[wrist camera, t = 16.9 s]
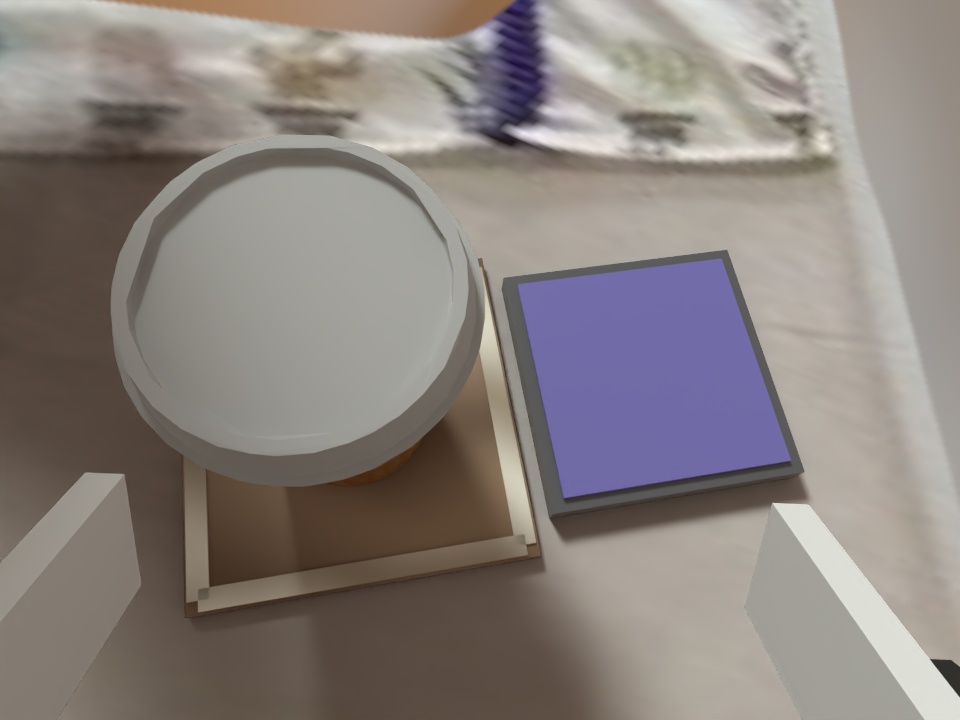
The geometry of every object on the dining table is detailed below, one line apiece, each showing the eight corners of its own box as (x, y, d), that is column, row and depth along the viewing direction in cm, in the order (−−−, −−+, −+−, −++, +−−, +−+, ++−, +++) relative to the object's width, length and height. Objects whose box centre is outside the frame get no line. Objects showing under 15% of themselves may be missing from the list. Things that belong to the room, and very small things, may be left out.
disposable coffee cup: (340, 260, 30) (282, 58, 19) (515, 391, 29) (564, 257, 18) (180, 427, 28) (0, 308, 16) (363, 582, 26) (306, 569, 15)
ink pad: (501, 288, 32) (504, 275, 30) (718, 261, 33) (728, 247, 32) (549, 518, 28) (554, 512, 27) (792, 477, 29) (807, 470, 28)
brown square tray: (183, 300, 30) (178, 293, 30) (481, 263, 32) (481, 256, 31) (189, 618, 26) (183, 617, 25) (539, 557, 27) (541, 555, 27)
